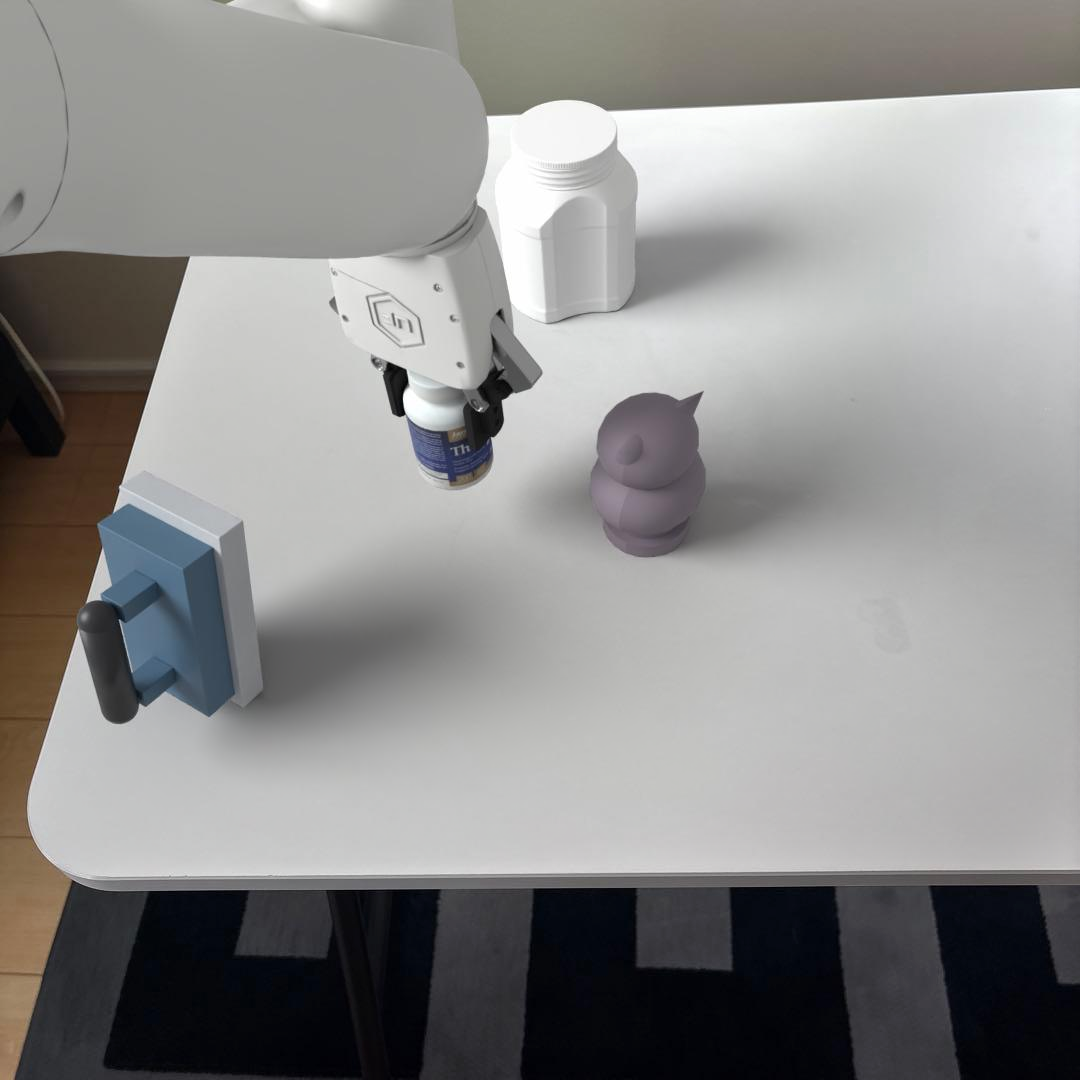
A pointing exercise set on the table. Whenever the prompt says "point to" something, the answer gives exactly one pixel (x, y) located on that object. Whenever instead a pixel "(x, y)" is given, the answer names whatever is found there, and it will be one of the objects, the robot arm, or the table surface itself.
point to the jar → (567, 213)
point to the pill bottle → (443, 435)
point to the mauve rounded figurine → (648, 472)
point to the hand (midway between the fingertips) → (447, 417)
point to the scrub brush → (171, 605)
